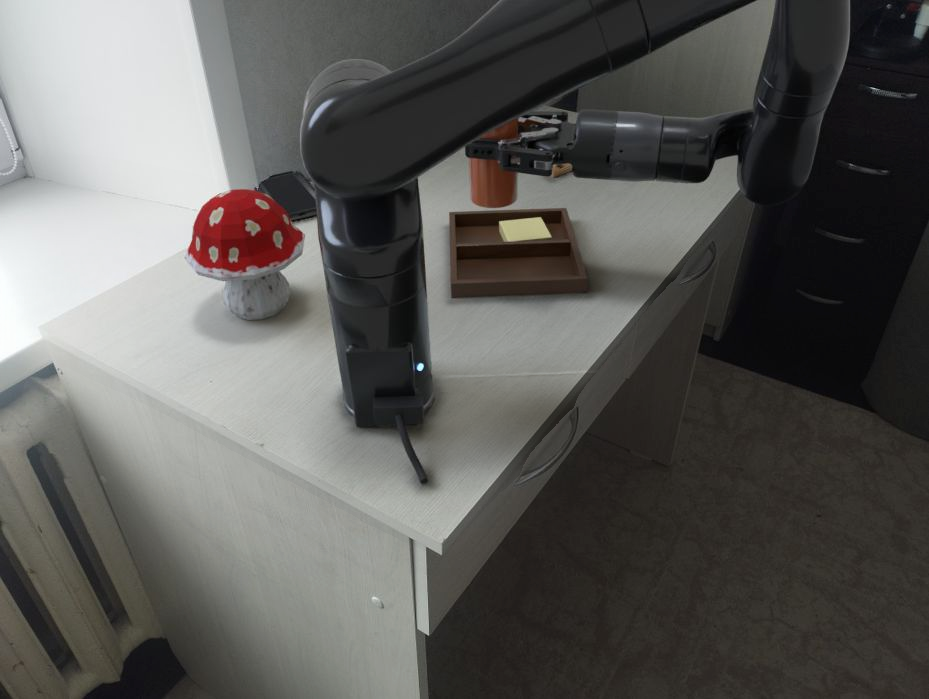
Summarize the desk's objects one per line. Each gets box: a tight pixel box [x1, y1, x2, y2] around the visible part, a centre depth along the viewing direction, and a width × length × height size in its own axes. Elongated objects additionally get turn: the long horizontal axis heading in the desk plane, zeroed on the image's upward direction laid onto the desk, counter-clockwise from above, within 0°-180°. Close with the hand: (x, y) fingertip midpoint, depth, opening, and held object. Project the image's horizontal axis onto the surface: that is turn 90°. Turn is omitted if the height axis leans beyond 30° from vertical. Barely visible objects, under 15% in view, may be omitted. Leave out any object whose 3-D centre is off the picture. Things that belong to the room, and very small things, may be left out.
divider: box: [456, 239, 570, 259], centre depth 99 cm, size 1×15×2 cm, turn 91°
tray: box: [448, 207, 588, 299], centre depth 99 cm, size 19×17×2 cm
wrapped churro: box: [549, 163, 572, 178], centre depth 124 cm, size 4×3×20 cm
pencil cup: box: [468, 118, 519, 209], centre depth 87 cm, size 6×6×16 cm
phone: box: [253, 170, 317, 222], centre depth 116 cm, size 8×1×15 cm
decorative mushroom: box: [184, 188, 306, 321], centre depth 88 cm, size 14×14×15 cm
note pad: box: [499, 217, 552, 242], centre depth 103 cm, size 6×6×2 cm
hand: (472, 137), depth 88 cm, fingers closed on pencil cup, 6 cm apart
